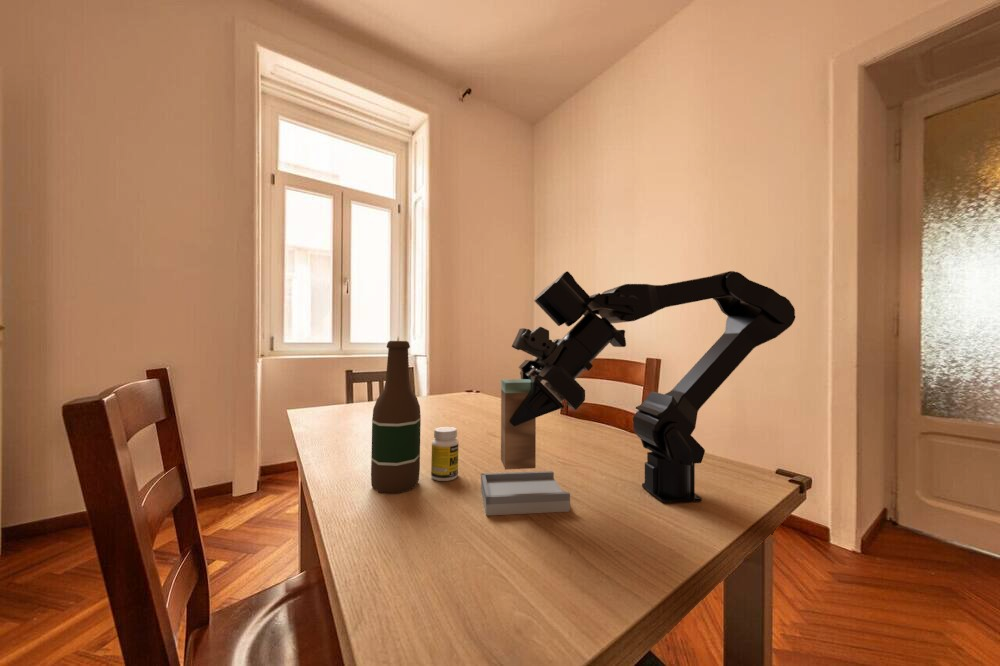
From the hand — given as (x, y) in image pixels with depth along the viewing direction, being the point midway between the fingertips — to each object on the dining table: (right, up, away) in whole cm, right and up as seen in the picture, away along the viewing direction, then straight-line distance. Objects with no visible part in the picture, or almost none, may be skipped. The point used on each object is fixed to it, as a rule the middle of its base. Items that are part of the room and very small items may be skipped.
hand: (509, 420), depth 54 cm
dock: (+2, -12, +1) cm, 12 cm away
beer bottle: (-19, -12, +5) cm, 23 cm away
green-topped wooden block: (+1, -7, 0) cm, 7 cm away
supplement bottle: (-11, -12, +9) cm, 19 cm away
